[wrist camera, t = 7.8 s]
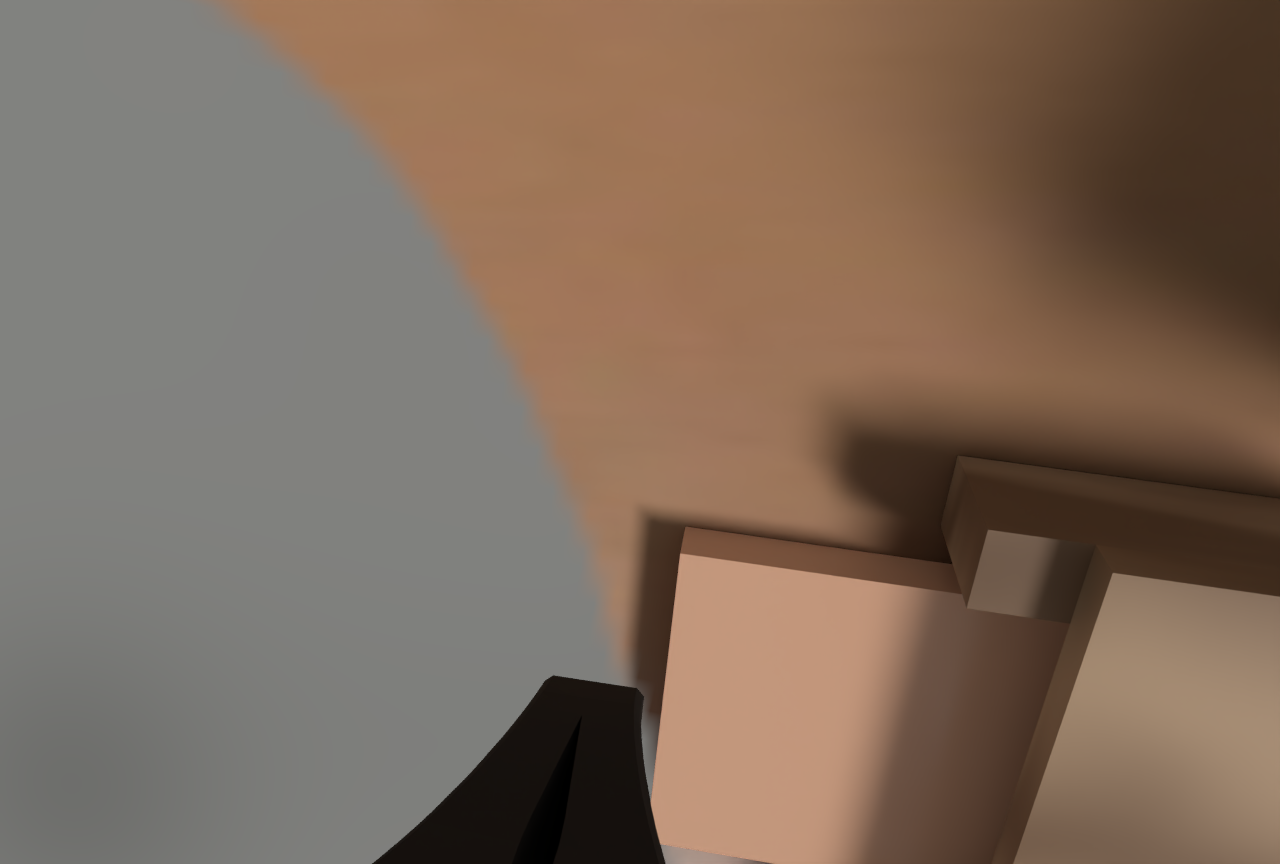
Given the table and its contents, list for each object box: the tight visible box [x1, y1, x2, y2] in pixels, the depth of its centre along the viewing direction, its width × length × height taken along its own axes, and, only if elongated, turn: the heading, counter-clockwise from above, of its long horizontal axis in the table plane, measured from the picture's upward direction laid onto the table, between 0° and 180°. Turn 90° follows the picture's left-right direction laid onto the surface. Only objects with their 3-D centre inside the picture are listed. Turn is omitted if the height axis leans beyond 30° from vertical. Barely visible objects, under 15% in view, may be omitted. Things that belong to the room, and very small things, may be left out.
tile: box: [651, 527, 1070, 864], centre depth 24 cm, size 9×12×2 cm
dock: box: [940, 456, 1280, 864], centre depth 22 cm, size 15×9×4 cm, turn 175°
